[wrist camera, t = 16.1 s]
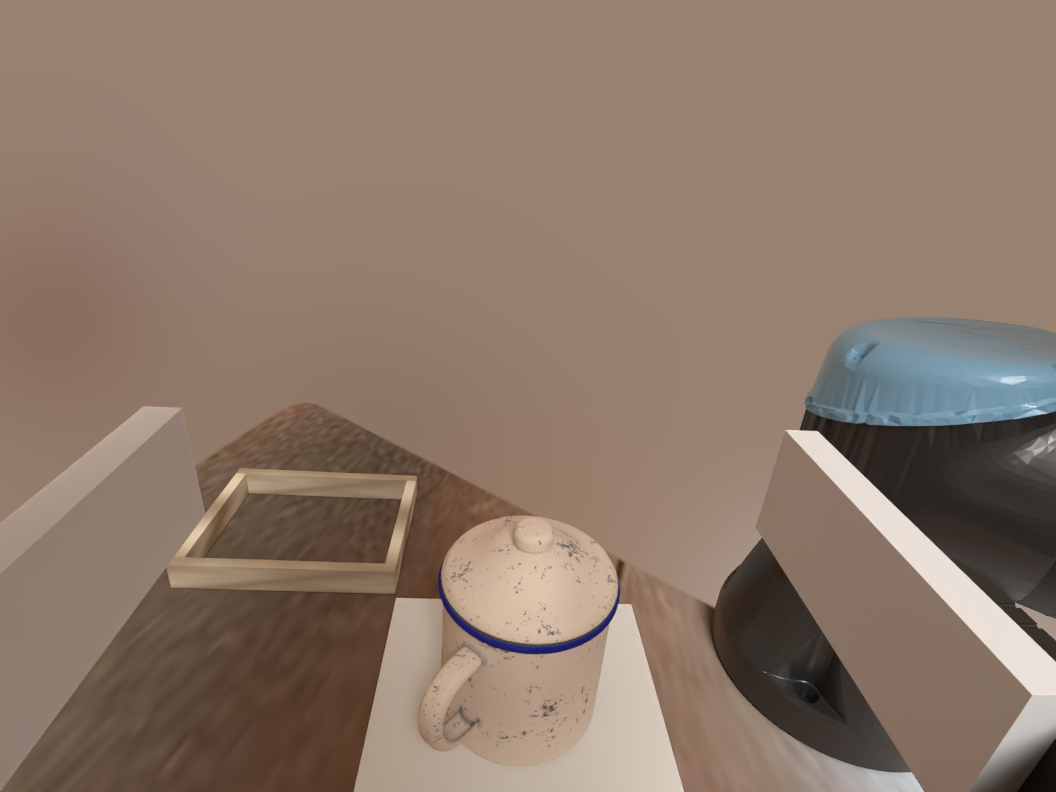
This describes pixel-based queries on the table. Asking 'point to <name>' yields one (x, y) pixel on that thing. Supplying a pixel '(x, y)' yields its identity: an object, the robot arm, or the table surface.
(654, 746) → the ceramic board
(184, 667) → the table surface
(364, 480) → the cup holder
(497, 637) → the teacup with lid
